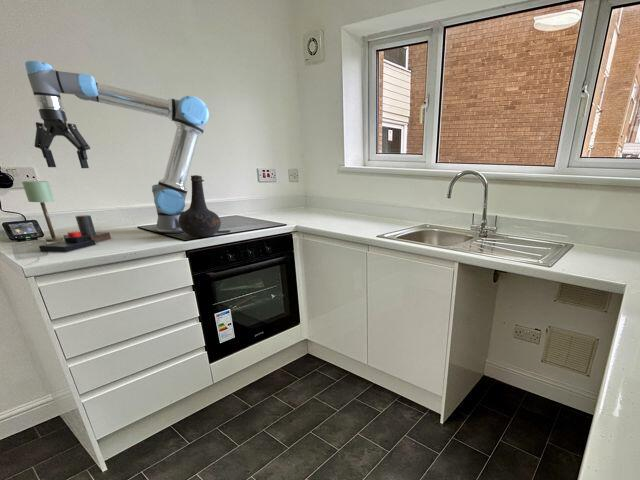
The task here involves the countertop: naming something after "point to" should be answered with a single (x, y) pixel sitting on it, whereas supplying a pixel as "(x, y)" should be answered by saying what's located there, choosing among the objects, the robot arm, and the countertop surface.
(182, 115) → the robot arm
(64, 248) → the lamp base
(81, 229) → the dark grey tall block
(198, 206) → the glass bottle
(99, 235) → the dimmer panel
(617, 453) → the countertop surface
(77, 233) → the power button
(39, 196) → the lamp
